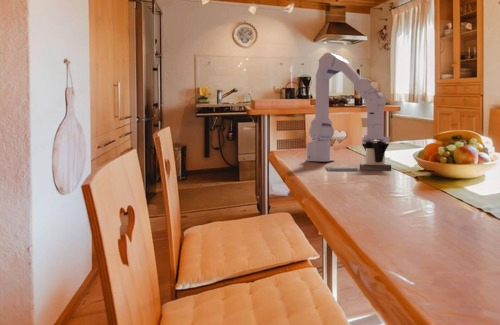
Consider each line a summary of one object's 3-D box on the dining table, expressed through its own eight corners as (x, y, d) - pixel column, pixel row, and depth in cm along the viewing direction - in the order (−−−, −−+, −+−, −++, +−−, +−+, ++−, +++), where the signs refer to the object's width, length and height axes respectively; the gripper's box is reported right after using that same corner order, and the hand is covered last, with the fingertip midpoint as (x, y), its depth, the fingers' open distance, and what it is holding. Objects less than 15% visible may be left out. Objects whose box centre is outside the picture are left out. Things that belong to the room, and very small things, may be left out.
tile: (329, 171, 119) (329, 168, 119) (325, 169, 129) (325, 166, 129) (357, 171, 118) (357, 168, 118) (352, 168, 128) (352, 166, 128)
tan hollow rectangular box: (359, 169, 126) (359, 164, 126) (385, 169, 125) (385, 163, 125) (363, 170, 120) (363, 165, 119) (391, 170, 119) (391, 164, 118)
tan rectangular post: (365, 169, 124) (365, 148, 124) (382, 169, 124) (382, 148, 123) (367, 170, 121) (367, 148, 121) (384, 170, 121) (384, 148, 120)
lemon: (436, 170, 115) (436, 147, 115) (419, 170, 116) (419, 148, 116) (431, 169, 121) (431, 147, 120) (414, 169, 122) (415, 147, 121)
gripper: (355, 126, 128) (355, 161, 128) (377, 124, 113) (376, 163, 114) (371, 126, 129) (371, 160, 130) (395, 124, 115) (394, 162, 116)
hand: (375, 162), depth 122 cm, fingers closed on tan rectangular post, 4 cm apart
